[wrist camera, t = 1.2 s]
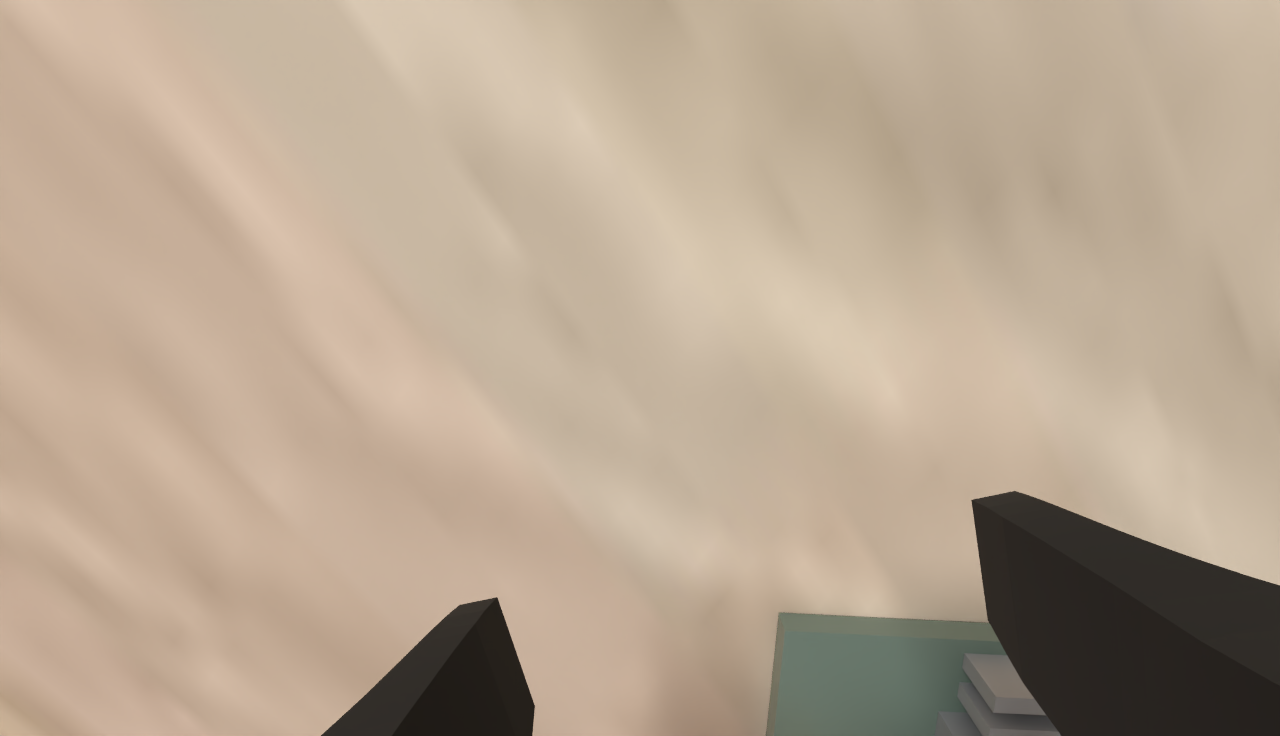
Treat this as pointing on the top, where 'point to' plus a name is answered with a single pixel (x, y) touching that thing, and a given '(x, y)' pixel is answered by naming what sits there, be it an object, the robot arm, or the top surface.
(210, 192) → the top surface
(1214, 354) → the top surface
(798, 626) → the clamp board
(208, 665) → the top surface
